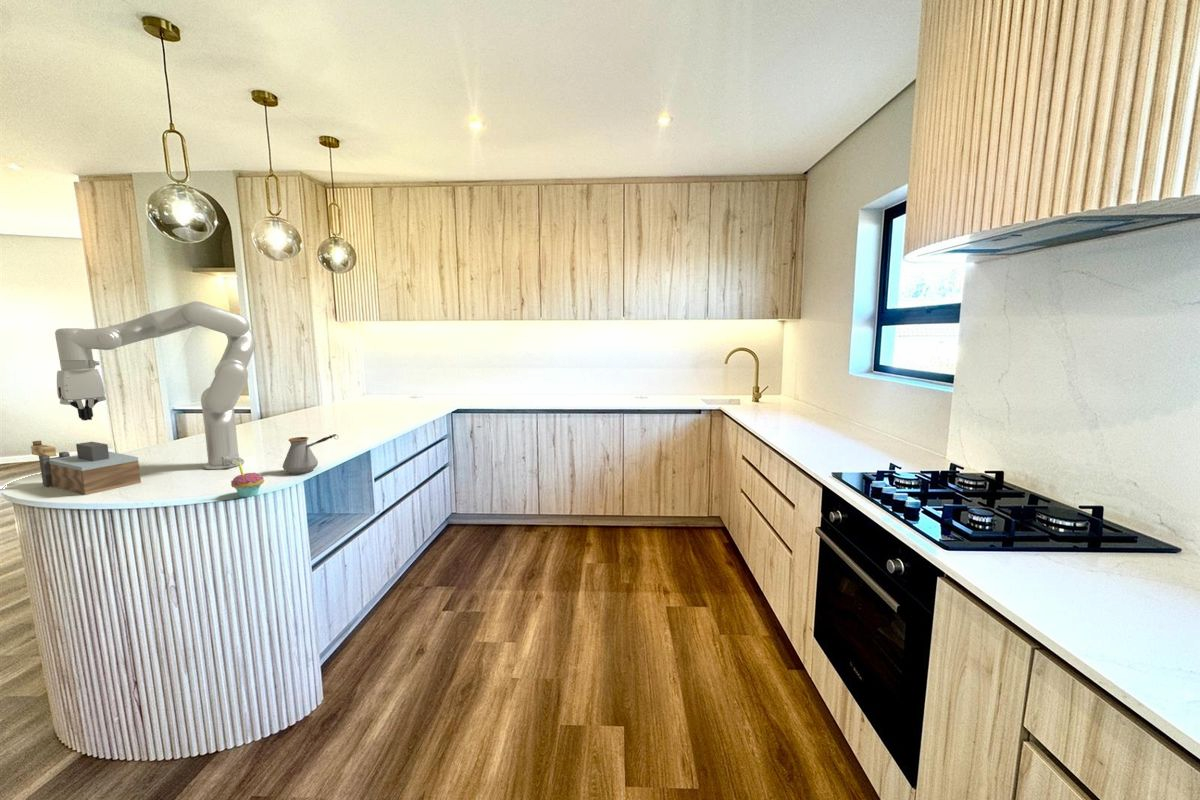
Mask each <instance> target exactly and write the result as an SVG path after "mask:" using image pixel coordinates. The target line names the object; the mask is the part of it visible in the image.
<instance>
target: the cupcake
mask: <svg viewBox="0 0 1200 800" xmlns="http://www.w3.org/2000/svg"><path fill="white" fill-rule="evenodd" d="M238 462H239V461H238ZM238 465H239V466H238V468H239V471H240V475H237V476H235V477H233V478H232V480H231V485H230V486H231V487H232V488H234V489H235V490H236V493H238V495H239V497H240V498H250V497H254V496H256V495H258V494H259V491H260V488H261V485H262V484H264V482H265V479H264V476H263V475H262V474H260V473H256V472H246V473H244V470H243V466H242V464H241V463H240V462H239V463H238Z"/></svg>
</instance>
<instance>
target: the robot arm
mask: <svg viewBox="0 0 1200 800" xmlns="http://www.w3.org/2000/svg"><path fill="white" fill-rule="evenodd" d="M250 325H251V324H250V323H249V321H248V320H247V318H245V317H244V316H242V315H240V314H238V313H235V312H233V311H232V312H231V311H229V310H225V309H223V308H220V307H216V306H214V305H211V304H208V303H205V302H202V301H190V302H187V303H184V304H180V305H177V306H174V307H169V308H166V309H161V310H157V311H154V312H150V313H146V314H144V315H142V316H140V317H138V318H134V319H131V320H127V321H124V322H120V323H117V324H113V325H109V326H105V327H97V328H87V329H86V328H79V327H78V328H73V327H72V328H69V327H68V328H65V327H64V328H57V329H56V330H55V331H54V335H55V342H56V348H57V353H58V360H59V364H60V365H59V367H60V370H57V373H56V393H57V394H56V395H57V398H58V400H59V404H60V405H66V406H71V407H73V408H75V409H77V414H78V418H79V419H81V421H92V419H93V417H94V413H93V408H94V406H95V405H97V404H98V403H100V402H103V401H104V402H105V401H106V400H107V399H106V392H105V387H104V382H103V379H102V377H101V374H100V372H99V369H97V368H96V367H97V366H100V361H98V360H97V361H96V360H94V355H93V350H103V351H111V350H115V349H117V348H120V347H125V346H127V345H131V344H134V343H138V342H141V341H145V340H149V339H150V340H151V339H155V338H161V337H165V336H169V335H172V334H175V333H179V332H181V331H185V330H189V329H192V328H196V327H199V326H200V327H202V328H205V329H207V330H211V331H214V332H218V333H222V334H225V336H226V337H227V344H226V347H225V349H224V351H223V354H222V356H221V359H220V360H219V362H218V364H217V366H216V367H215V369H214V378H213V380H212V382H211V384H210V386H209V387H207V388H206V389H205V390H204V391H203V392H202V394H201V397H200V402H201V403H200V404H201V409H202V410H201V411H202V415H203V425H204V434H205V435H204V437H205V443H206V444H205V445H206V452H207V453H206V454H207V462H206V463H204V464H203V469H206V470H222V469H229V468H234V467H239V465H238V463H239V462H240V463H241V465H243V464H244V463H245V460H244V459H243V458H242V457H240V455H239V447H238V436H237V435H238V434H237V428H236V426H237V423H236V415H235V406H236V405H237V402H238V400H239V399H240V396H241V395H242V392H243V390H244V388H245V386H246V384H247V381H248V378H249V372H248V365H249V363H250V361H251V358H252V356H253V353H254V350H255V346H256V345H255V343H256V342H255V337H254V334H253V331H252V330H251V329H250ZM82 400H84V403H83V401H82ZM238 461H239V462H238Z"/></svg>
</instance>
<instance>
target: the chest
mask: <svg viewBox="0 0 1200 800" xmlns="http://www.w3.org/2000/svg"><path fill="white" fill-rule="evenodd" d="M58 455H59V456H57V457H55V456H54V457H50V456H49V455H40V456H38V460H39V465H40V474H41V479H42V486H43V487H45V486H47V487H46V488H50V487H49V486H51V487H53V486H55V487H54V488H57V487H58V489H61V488H62V490H66V491H69V492H73V493H77V494H81V495H83V496H88V495H91V494H95V493H101V492H104V491H110V490H114V489H119V488H124V487H129V486H132V485H133V486H134V485H137V484H141V483H142V480H141V470H140V464H139V460H138V461H132V462H127V463H122V464H116V465H111V466H106V467H100V468H95V469H90V470H84V471H80V470H76V469H71V468H67V467H63V466H58V465H54V464H49V461H48V460H51V459H57V458H63V457H69V456H71V455H70V452H69V451H60V452H58Z"/></svg>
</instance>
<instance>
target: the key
mask: <svg viewBox="0 0 1200 800" xmlns="http://www.w3.org/2000/svg"><path fill="white" fill-rule="evenodd" d="M30 449H31V454H32V455H34V456H38V457H39V456H40V455H49V456H50V458H52V457H55V456H57V451H56V449H57V448H56V447H55V446H51V445H45V444H43V442H42V440H34V441H32V445H30Z"/></svg>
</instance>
